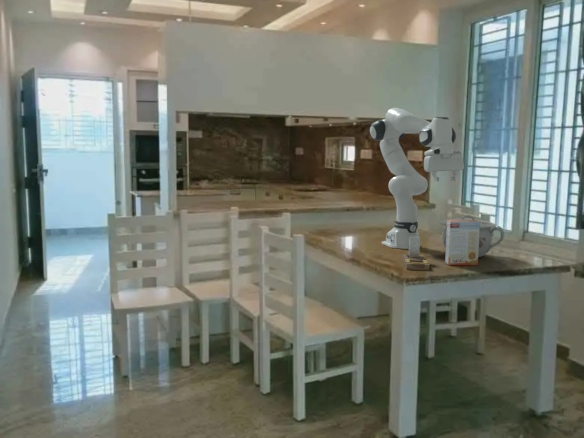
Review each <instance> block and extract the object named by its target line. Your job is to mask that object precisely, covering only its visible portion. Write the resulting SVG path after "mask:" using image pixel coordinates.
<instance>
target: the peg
mask: <svg viewBox="0 0 584 438" xmlns="http://www.w3.org/2000/svg"><path fill="white" fill-rule="evenodd" d="M420 247H421V237H420V236H409V249H408V253H407V254H408V258H419V254H420Z"/></svg>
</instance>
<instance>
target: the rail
mask: <svg viewBox="0 0 584 438" xmlns="http://www.w3.org/2000/svg"><path fill="white" fill-rule="evenodd" d="M408 254H409V253H401V261H402V263H403V265H404V267H405V270H408V271H409V270H410V271H411V270H413V271H415V270H416V271H430V267H431V266H430V265H431V264H430V263H429V262H428V260H427V259H426V257H425V255H424V254H420V253H419V258H408Z"/></svg>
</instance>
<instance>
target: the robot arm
mask: <svg viewBox="0 0 584 438" xmlns="http://www.w3.org/2000/svg"><path fill="white" fill-rule="evenodd" d="M369 134H370V137H371V139H372V140H373V141H376V142H379V148H380V151H381V155H382V157H383V160H384V162H385V164H386V166H387V168H388V170H389V172H390V173H391V174H393V175H395V176H394V177H392V178H391V179H390V180H389V182H388V191H389V192H390V193H391V194H392V196H393V198H394V200H395V201H394V202H395V205H396V220H394V221H393V223H394V225H393V228H392V229H390V230H389V231H388V232H387V233H386V235H385V240H383V241H381V245H385V246H386V247H388V248H393V249H404V250H409V236H419V231H418V227H419V221H418V214H419V213H418V212H419V211H418V210H419V207H418V206H417V204H416V203H415V201H414V199H413V196H419V195H421V194H424V193H425V192H426V191H427V189H428V186H429V184H428V180H427V179H426V177H424V176H423V175H421V174H420V173H419V172H418V171H417V170H416V169H415V168H414V166H413V165H412V164H411V163H410V161H409V160H408V158H407V157H406V156H407V155H406V154H405V152H404V150H403V148H402V146H401V144H400V141H399V140H400V139H401V140H402V139H404V138H405V135H406V134H413V135H414V134H418V141H419V143H420V144H421V145H422V146H423V147H427V148H429V147H430V149H428V150H426V151H424V159H423V169H424V171H425V173H431V176H432V177H433V181H434V182H439V181H440V177H438V175H437V174H438V172H452V174H453V175H452V176H450V180H451V181H456V180H457V175H458V171H463V170H464V169H465V163H464V158H463V153H462V152H461V151H460V150H454V143H455V141H456V140H457V139H456V138H457V134H456V131H455V129H454V128H453V127H452V122H451V120H450V118H449V117H448V116H435V117H433V118H432V120H431V121H430V120H429V121H428V120H427V119H424V118H421V117H419V116H417V115H416V114H413V113H411V112H410V111H408V110H406V109H402V108H400V107H392V108H390V109H388V110H387V112H386V113H385V118H384V119H379V120H376V121H374V122H373V123H371V124H370V127H369ZM431 147H432V148H431ZM419 237H420V236H419Z"/></svg>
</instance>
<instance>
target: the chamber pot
mask: <svg viewBox="0 0 584 438" xmlns="http://www.w3.org/2000/svg"><path fill="white" fill-rule="evenodd" d="M447 220H477V221H479V222H480V229H479V249H478V258H482V257H484V256H485V255H487V253H488V252H490V251H491V250H492V248H494V247H496V246H498V245H499V244H500V243H502V242H503V241H504V239H505V231H504V229H503V228H502V227H501V226H499V225H498V226H497V224H496V223H494V222H491V221H487V220H482V219H477V218H475V217H474V216H472V215H469V214H468V215H463V216H462V217H460V218H449V219H443V220H441V221H439V223H440V224H441V225H443V226H444V228H443V230H441V231H442V232H441V241H442V245H443V246H444V248H445V249H446V231H447ZM495 231H498V232H500V237H499V239H498V240H497V242H495V243H493V244H492V241H493V237H494V232H495Z"/></svg>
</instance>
